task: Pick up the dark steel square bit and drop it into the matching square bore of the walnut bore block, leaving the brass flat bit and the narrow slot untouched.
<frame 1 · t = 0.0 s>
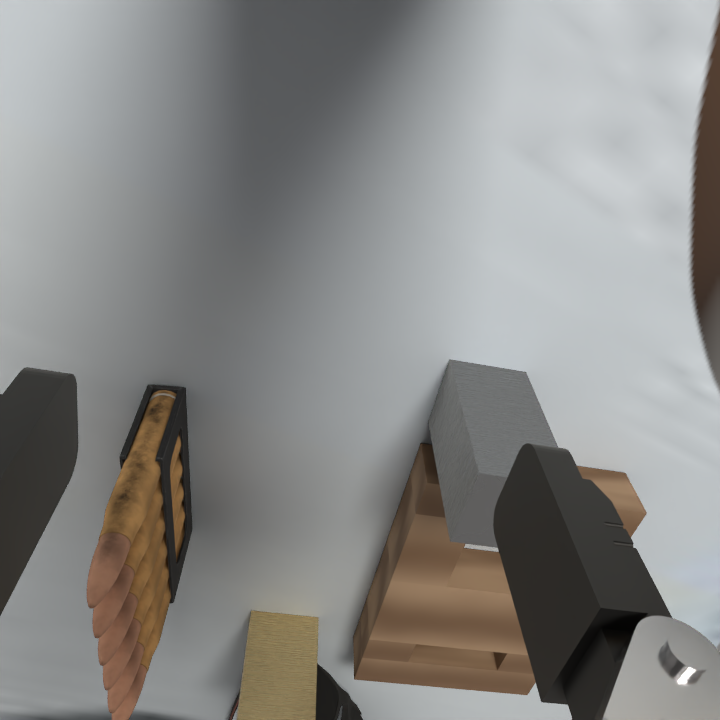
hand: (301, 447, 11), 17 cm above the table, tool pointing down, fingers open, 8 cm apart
bore block: (475, 563, 40), on the table
sunglasses: (263, 706, 50), on the table
square bit: (475, 397, 33), on the table
ammunition clip: (172, 461, 35), on the table
flat bit: (283, 620, 43), on the table
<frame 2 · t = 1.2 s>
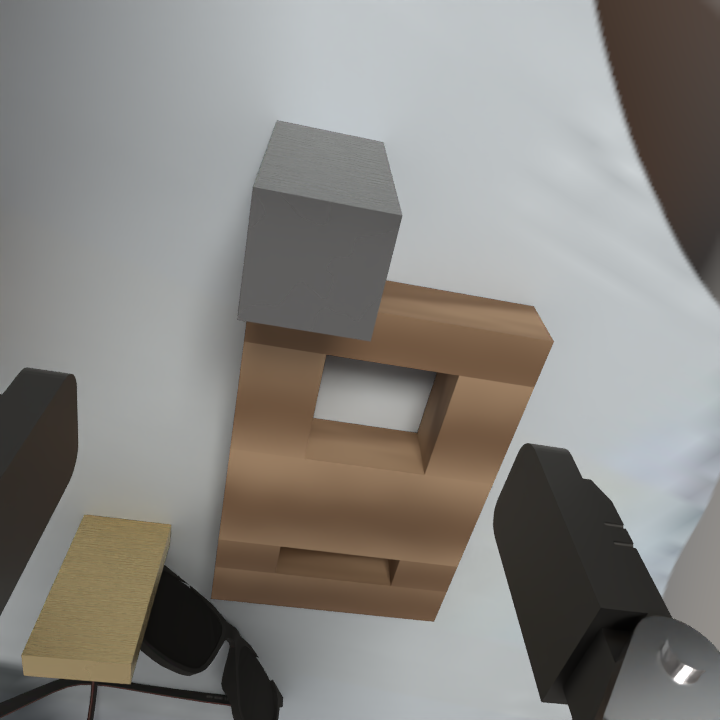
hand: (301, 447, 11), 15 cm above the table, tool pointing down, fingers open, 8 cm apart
bore block: (357, 444, 32), on the table
sunglasses: (139, 650, 41), on the table
square bit: (321, 184, 25), on the table
flat bit: (128, 529, 34), on the table
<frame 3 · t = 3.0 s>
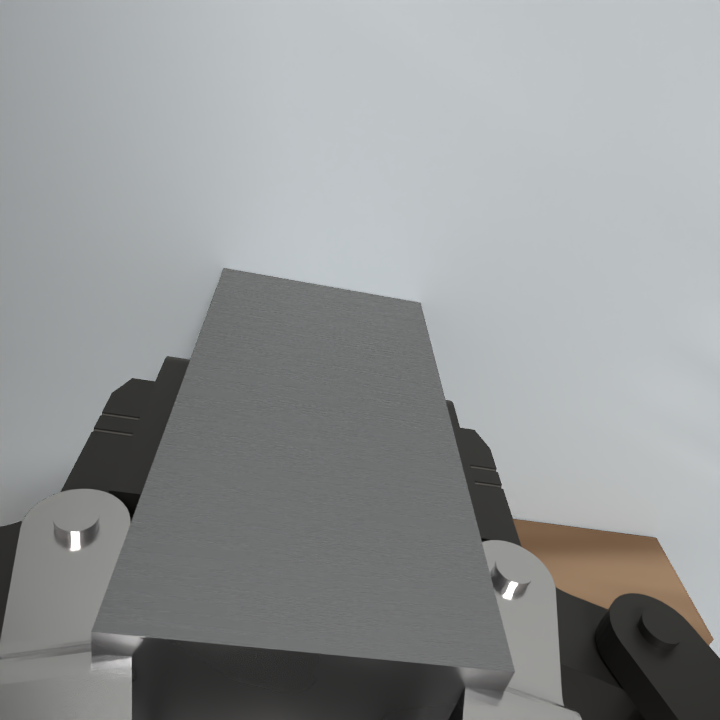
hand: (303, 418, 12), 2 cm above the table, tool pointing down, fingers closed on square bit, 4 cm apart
bore block: (364, 707, 21), on the table
square bit: (307, 368, 14), on the table, touching gripper
when the fingers open (4 cm above the table, at t = 7.9 s): square bit drops 2 cm, resting in bore block.
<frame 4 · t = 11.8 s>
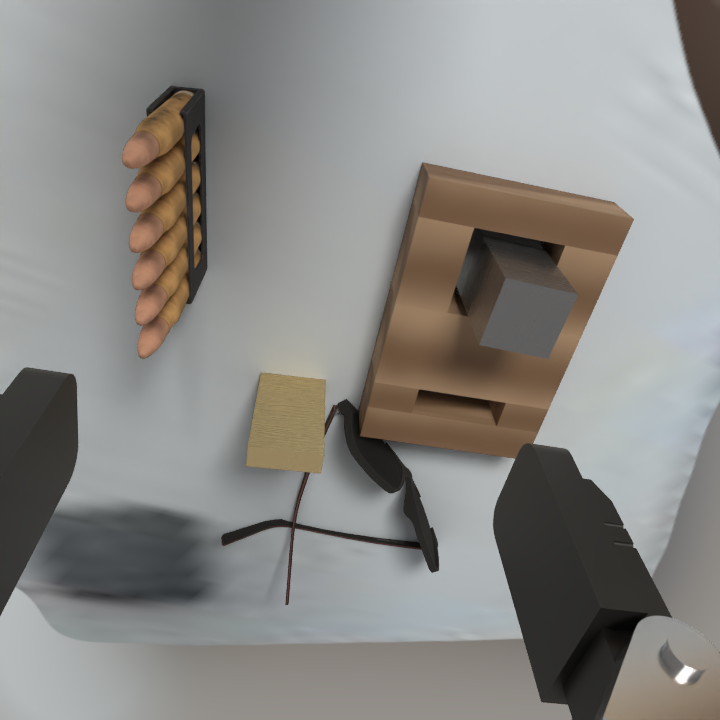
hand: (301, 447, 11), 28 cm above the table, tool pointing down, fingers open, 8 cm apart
bore block: (474, 315, 42), on the table
sunglasses: (328, 497, 51), on the table
square bit: (495, 260, 40), resting in bore block
ammunition clip: (190, 184, 37), on the table
flat bit: (292, 385, 45), on the table
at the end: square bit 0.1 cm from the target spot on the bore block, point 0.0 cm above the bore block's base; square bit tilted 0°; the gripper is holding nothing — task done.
